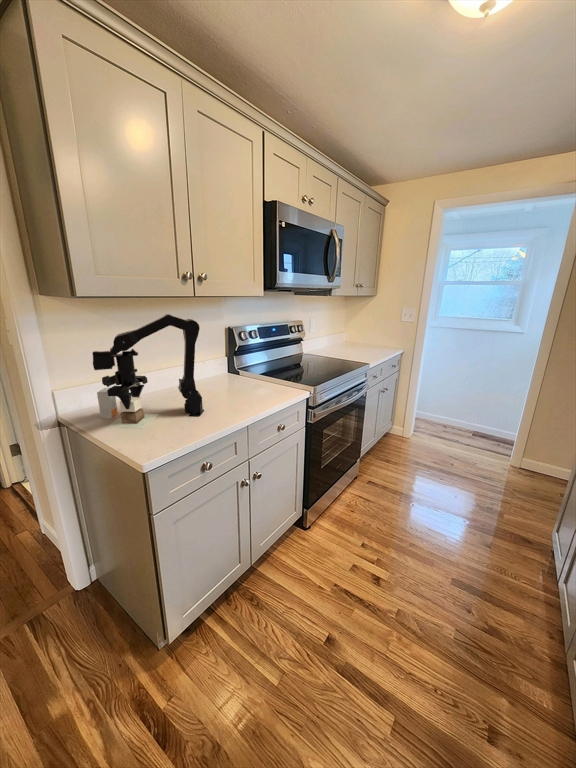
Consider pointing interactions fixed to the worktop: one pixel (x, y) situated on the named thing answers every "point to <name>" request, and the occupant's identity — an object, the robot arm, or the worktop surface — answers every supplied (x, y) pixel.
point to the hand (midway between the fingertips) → (131, 406)
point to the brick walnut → (132, 416)
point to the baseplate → (141, 424)
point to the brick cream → (132, 405)
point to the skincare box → (107, 404)
